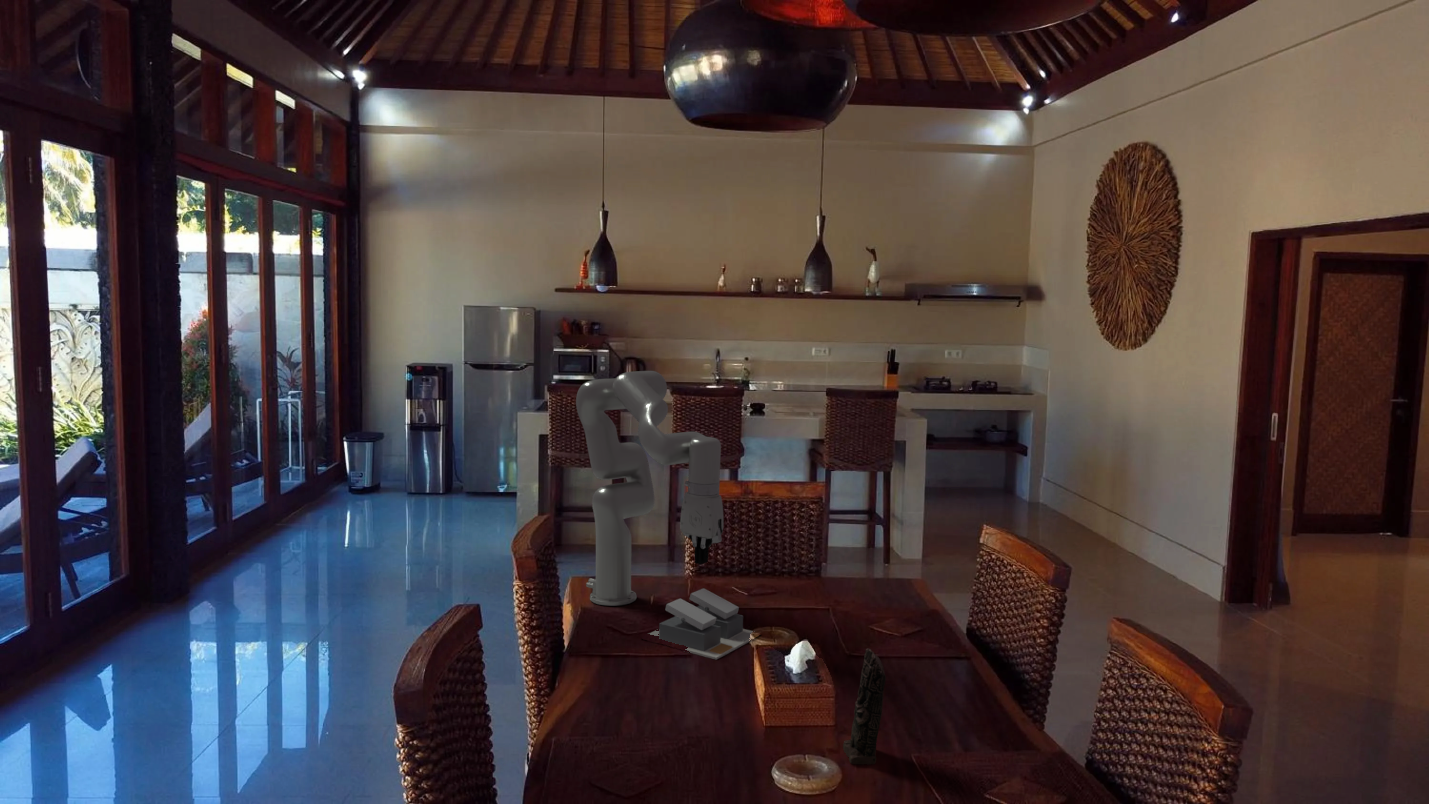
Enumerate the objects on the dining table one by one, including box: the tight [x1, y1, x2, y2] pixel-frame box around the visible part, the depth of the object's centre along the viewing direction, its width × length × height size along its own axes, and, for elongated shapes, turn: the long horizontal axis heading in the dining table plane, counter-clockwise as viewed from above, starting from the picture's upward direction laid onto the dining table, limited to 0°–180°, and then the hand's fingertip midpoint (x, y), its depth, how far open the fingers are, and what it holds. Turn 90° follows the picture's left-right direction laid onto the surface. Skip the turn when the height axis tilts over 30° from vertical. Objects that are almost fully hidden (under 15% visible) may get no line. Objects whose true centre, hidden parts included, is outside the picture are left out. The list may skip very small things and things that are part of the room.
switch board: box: [648, 604, 753, 660], centre depth 241 cm, size 22×20×4 cm
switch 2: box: [689, 588, 740, 619], centre depth 244 cm, size 11×6×2 cm, turn 57°
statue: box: [842, 648, 887, 765], centre depth 180 cm, size 7×7×20 cm
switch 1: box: [665, 598, 716, 630], centre depth 236 cm, size 11×6×2 cm, turn 57°
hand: (701, 562), depth 240 cm, fingers closed
